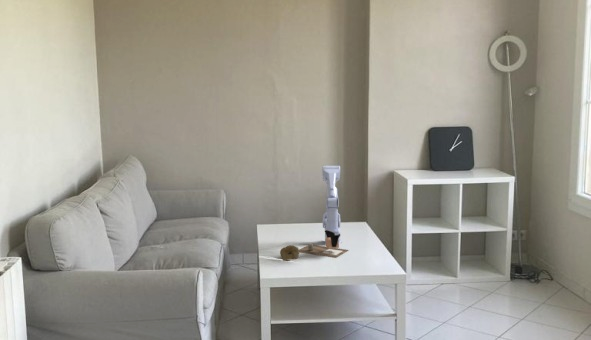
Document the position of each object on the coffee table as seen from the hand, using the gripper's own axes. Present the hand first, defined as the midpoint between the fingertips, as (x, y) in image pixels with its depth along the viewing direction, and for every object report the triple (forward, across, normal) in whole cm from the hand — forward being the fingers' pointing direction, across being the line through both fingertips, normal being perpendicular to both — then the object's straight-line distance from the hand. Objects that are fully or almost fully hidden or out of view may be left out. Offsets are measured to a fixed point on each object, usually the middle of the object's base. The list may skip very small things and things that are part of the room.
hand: (332, 245), depth 317 cm
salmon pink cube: (+1, 0, 0) cm, 1 cm away
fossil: (+5, +2, -24) cm, 24 cm away
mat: (+5, 0, 0) cm, 5 cm away
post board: (+5, -4, -4) cm, 8 cm away
